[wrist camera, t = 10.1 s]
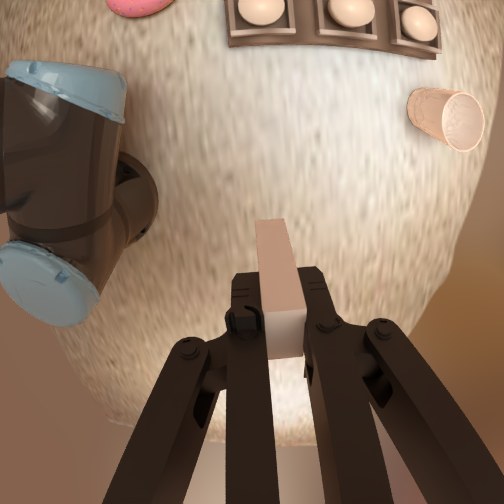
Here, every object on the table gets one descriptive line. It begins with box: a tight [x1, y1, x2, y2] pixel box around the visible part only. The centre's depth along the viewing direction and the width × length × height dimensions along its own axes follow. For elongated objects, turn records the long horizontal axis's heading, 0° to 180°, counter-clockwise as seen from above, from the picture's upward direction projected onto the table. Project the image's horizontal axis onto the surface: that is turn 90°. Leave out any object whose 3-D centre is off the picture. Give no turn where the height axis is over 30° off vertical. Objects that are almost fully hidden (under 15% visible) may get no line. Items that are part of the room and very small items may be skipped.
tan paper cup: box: [407, 88, 484, 152], centre depth 31 cm, size 8×8×10 cm
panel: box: [225, 0, 442, 60], centre depth 25 cm, size 28×12×5 cm, turn 94°
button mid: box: [328, 0, 375, 28], centre depth 23 cm, size 5×5×2 cm
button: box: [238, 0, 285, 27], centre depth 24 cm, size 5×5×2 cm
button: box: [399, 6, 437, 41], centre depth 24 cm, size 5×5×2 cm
